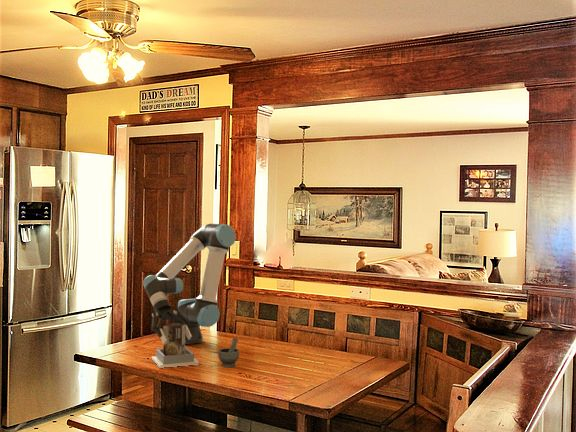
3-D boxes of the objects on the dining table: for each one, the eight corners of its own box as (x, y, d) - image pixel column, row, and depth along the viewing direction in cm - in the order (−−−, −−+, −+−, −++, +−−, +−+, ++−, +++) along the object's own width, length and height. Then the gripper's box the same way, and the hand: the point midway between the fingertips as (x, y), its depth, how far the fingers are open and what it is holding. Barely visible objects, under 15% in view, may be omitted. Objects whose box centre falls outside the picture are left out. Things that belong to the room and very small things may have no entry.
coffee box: (185, 357, 284) (186, 323, 284) (181, 361, 278) (182, 325, 278) (166, 357, 285) (167, 322, 285) (162, 360, 279) (163, 325, 279)
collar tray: (188, 356, 293) (189, 346, 293) (198, 365, 277) (199, 354, 277) (151, 359, 286) (151, 348, 286) (159, 368, 270) (159, 357, 270)
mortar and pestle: (230, 369, 270) (230, 342, 270) (213, 366, 275) (214, 339, 275) (245, 364, 280) (245, 338, 280) (228, 361, 285) (229, 335, 285)
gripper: (179, 306, 301) (196, 341, 290) (134, 311, 284) (150, 348, 273) (185, 296, 297) (203, 331, 287) (140, 301, 280) (157, 338, 269)
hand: (177, 340), depth 280 cm, fingers open, 13 cm apart
